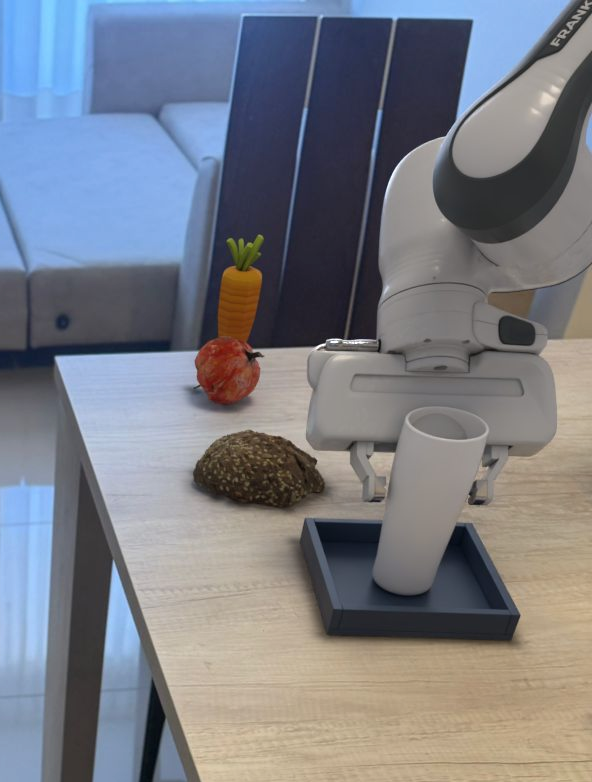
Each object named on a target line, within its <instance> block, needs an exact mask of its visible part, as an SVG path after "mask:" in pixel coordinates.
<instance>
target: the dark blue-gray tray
mask: <svg viewBox="0 0 592 782" xmlns="http://www.w3.org/2000/svg"><path fill="white" fill-rule="evenodd" d="M382 522H383V519H359V518H325V517H304V519H303V524H302V530H301V533H300V538H299V545H300V547H301V551H302V554H303V558H304V561H305V563H306V564H305V565H306V568H307V571H308V574H309V577H310V581H311V584H312V588H313V591H314V594H315V597H316V601H317V604H318V608H319V611H320V614H321V618H322V621H323V624H324V628H325V631H326V634H327V635H332V636H360V637H363V636H364V637H392V638H393V637H394V638H421V639H422V638H423V639H449V640H451V639H452V640H480V641H482V640H483V641H507V642H509V641H512V640H513V638H514V634H515V632H516V629H517V626H518V624H519V621H520V619H521V613H520V611H519V609H518V608H517V605H516V604H515V601H514V600H513V597H512V596H511V594H510V591H508V588H507V586H506V584H505V583H504V580H503V579H502V577H501V574H500V573H499V571H498V569H497V567H496V566H495V563H494V562H493V560H492V558H491V556H490V554H489V552H488V551H487V548H486V546H485V545H484V543H483V541H482V539H481V537H480V536H479V533H478V531H477V529H476V527H475V526H474V523H473V522H461V521H460V522H458V521H457V523H456V526H455V528H454V531H453V533H452V535H451V538H450V540H449V543H448V545H447V547H446V550H445V552H444V555H443V557H442V560H441V562H440V565H439V567H438V570H437V573H436V577H435V580H434V583H433V585H432V586H431V588H430V589H429V590H427V591H426V592H424V593H422V594H419V595H412V596H406V595H398V594H394V593H391V592H388V591H386V590H384V589H382V588H381V587H380V586H378V585H377V584H376V582H375V581H374V579H373V575H372V571H373V567H374V563H375V559H376V555H377V550H378V545H379V539H380V533H381V527H382Z"/></svg>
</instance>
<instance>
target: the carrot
mask: <svg viewBox="0 0 592 782" xmlns="http://www.w3.org/2000/svg"><path fill="white" fill-rule="evenodd" d="M264 241H265V239H264V236H263V235H261V234H258V235H256V238H255V240H254V241H253V243H252V242H247V244H246V245H245V242H244V239H243V238H239V239H238V246H237V243H236V242H235V240H234V238H232V237H230V238H228V239H227V240H226V244H227V246H228V248H229V250H230V253H231V255H232V258H233V261H234V264H235V265H233V266H229V267H227V268H226V269H224V271H223V273H222V277H221V282H220V289H219V299H218V309H217V310H218V311H217V333H218V338H219V337H221V336H229V337H232V338H234V339H236V340H243V341H245V342H246V343H247V342H248V339H249V337H250V334H251V331H252V328H253V326H254V322H255V319H256V314H257V310H258V305H259V300H260V294H261V289H262V282H263V274H262V272H261V270H259V269H257V268H256V267H253V266H252V264H254V262H256V261H257V260H258V259H259V258H260V257H261V256H262V253H261V252H259V250H260V248H261V247H262V245H263V243H264Z"/></svg>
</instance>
